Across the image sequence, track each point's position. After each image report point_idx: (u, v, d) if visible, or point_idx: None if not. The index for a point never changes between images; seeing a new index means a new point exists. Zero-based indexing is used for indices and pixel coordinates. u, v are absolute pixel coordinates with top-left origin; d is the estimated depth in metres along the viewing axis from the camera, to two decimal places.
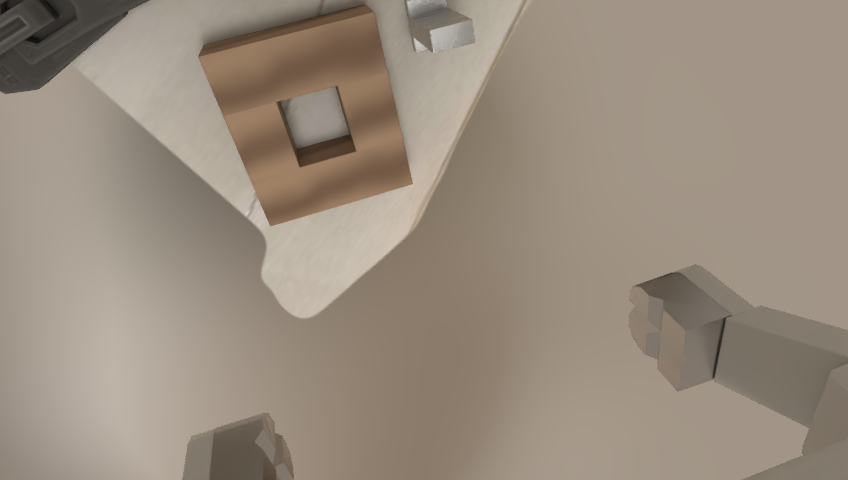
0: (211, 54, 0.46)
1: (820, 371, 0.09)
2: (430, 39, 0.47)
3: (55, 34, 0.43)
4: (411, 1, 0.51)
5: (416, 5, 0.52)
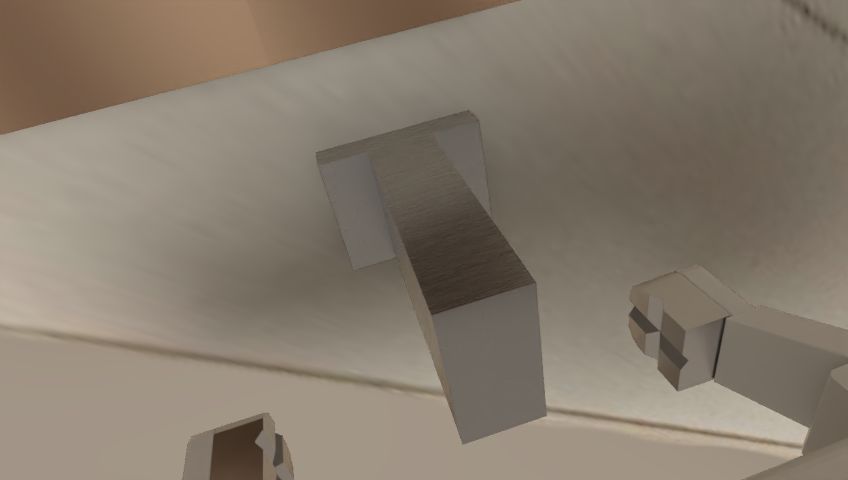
0: None
1: (820, 371, 0.09)
2: (487, 286, 0.10)
3: None
4: (477, 135, 0.16)
5: (464, 152, 0.16)
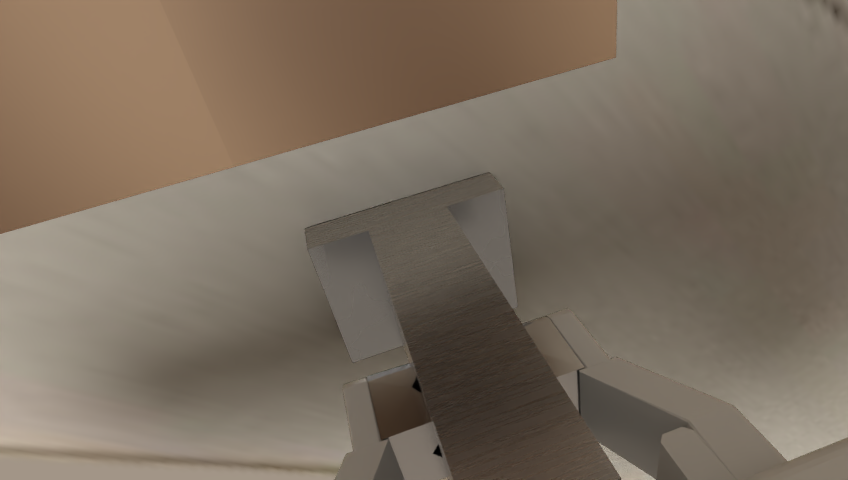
0: None
1: (663, 431, 0.09)
2: (549, 479, 0.07)
3: None
4: (501, 205, 0.13)
5: (485, 225, 0.13)
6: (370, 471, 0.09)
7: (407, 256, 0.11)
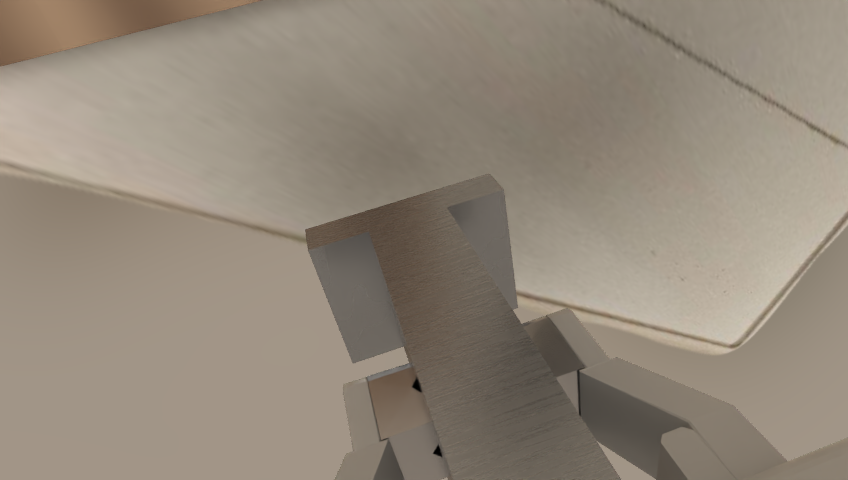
0: None
1: (663, 430, 0.09)
2: (549, 479, 0.07)
3: None
4: (501, 206, 0.13)
5: (485, 226, 0.13)
6: (370, 471, 0.09)
7: (407, 257, 0.11)
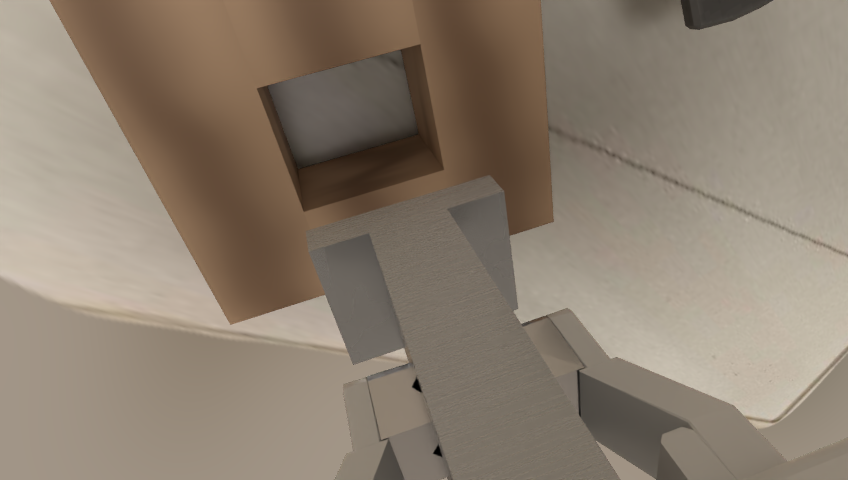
0: None
1: (663, 430, 0.09)
2: None
3: None
4: (501, 208, 0.13)
5: (486, 227, 0.13)
6: (370, 471, 0.09)
7: (408, 259, 0.11)
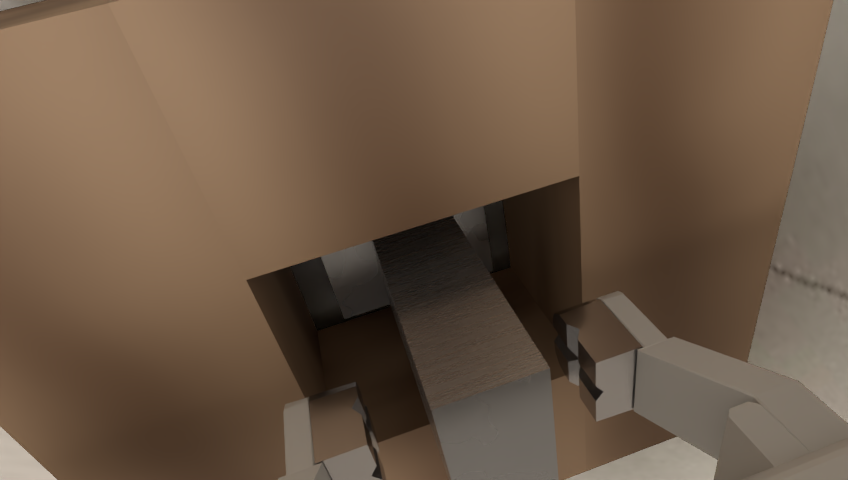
0: None
1: (725, 407, 0.09)
2: (494, 371, 0.08)
3: None
4: None
5: None
6: None
7: None
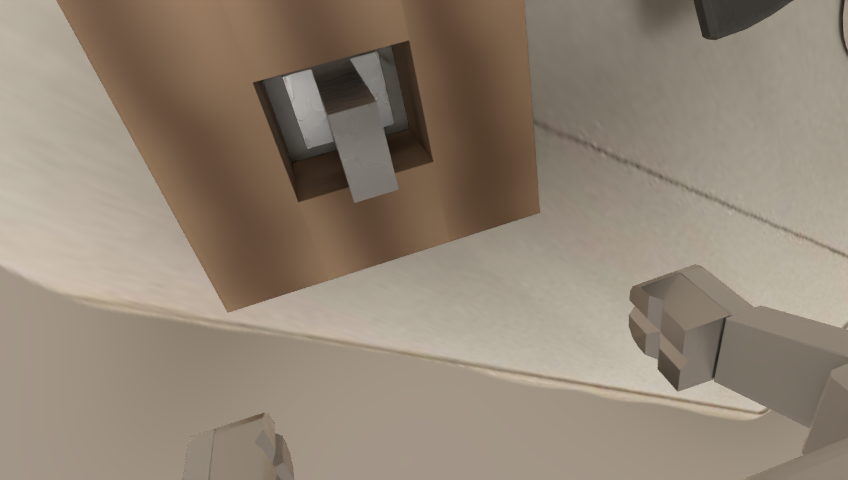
0: None
1: (820, 371, 0.09)
2: (355, 105, 0.20)
3: None
4: (377, 61, 0.27)
5: (370, 71, 0.27)
6: None
7: (326, 73, 0.25)
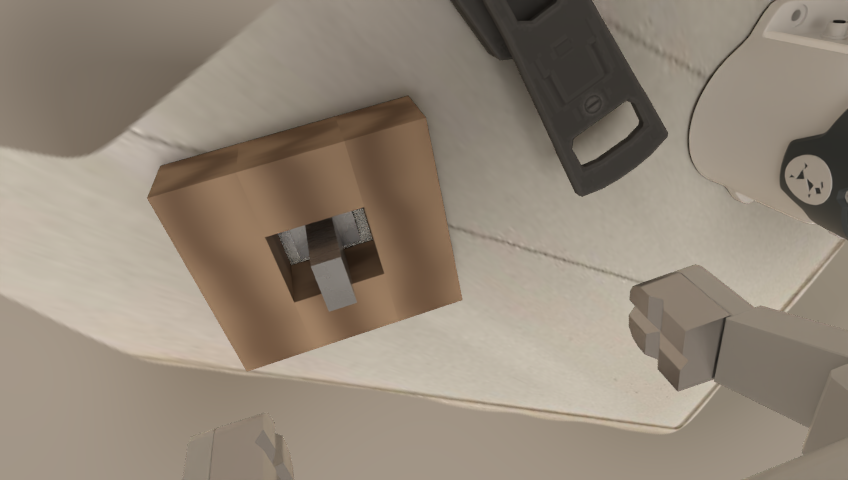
0: (427, 133, 0.34)
1: (820, 371, 0.09)
2: (328, 258, 0.34)
3: None
4: None
5: None
6: None
7: None
